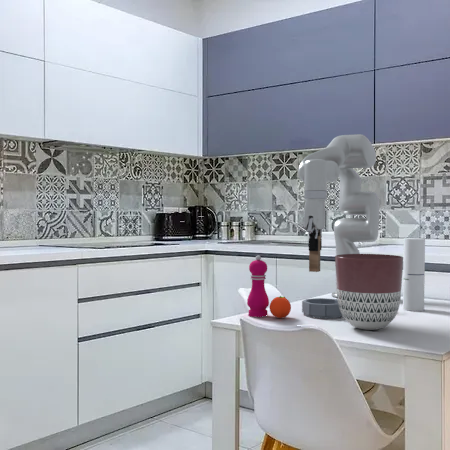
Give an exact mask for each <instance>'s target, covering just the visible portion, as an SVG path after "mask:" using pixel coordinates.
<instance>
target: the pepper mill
mask: <svg viewBox="0 0 450 450" xmlns="http://www.w3.org/2000/svg"><path fill="white" fill-rule="evenodd" d="M248 271H249V272H250V273H251V274H250V280H251V290H250V291H249V295H248V296H247V297H248V298H247V300H246V301H247V302H246V304H247V306H248V308H249V309H248V316H249V317H250V318H251V317H252V318H263V317H262V316H266V315H267V316H268V310H267V308H268V307H269V306H270V299H269V296H268V294H267V291H266V288H265V280H266V277H267V275H266V273H267V271H268V265H267V263H266V262H265V261H264V260H262V257H261V255H256V256H255V260H252V261H251V262H250V264H249V266H248ZM267 316H266V317H267Z"/></svg>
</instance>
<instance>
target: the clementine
mask: <svg viewBox="0 0 450 450" xmlns="http://www.w3.org/2000/svg"><path fill="white" fill-rule="evenodd" d="M291 310H292V305H291V302H290V300H289V299H287V297H286V296H281V295H280V296H277V297H275V298H273V299H272V300H271V302H269V312H270V313H271V315H272V316H273V317H275V318H277V319H284V318H286V317H287V316H289V314H290V313H291Z"/></svg>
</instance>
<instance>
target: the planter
mask: <svg viewBox="0 0 450 450" xmlns="http://www.w3.org/2000/svg"><path fill="white" fill-rule="evenodd" d="M403 257H404V256H401V255H395V254H394V255H393V254H382V253H360V254H341V255H336V254H335V256H334V259H335V260H334V261H335V262H334V263H335V287H336V286H337V297H336V299H337V301H338V306H339V309H340V312H341V314H342V317H343V319H345V321H346V322H347V323H349V325H351V326H353V328H357V329H359V330H366V331H375V330H381V329H383V328H386V326H388V325H390V324H391V323H392V321H394V319H395V318H396V317H397V314H398V312H399V309H400V305H401V297H402V288H403V284H402V283H403Z"/></svg>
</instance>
